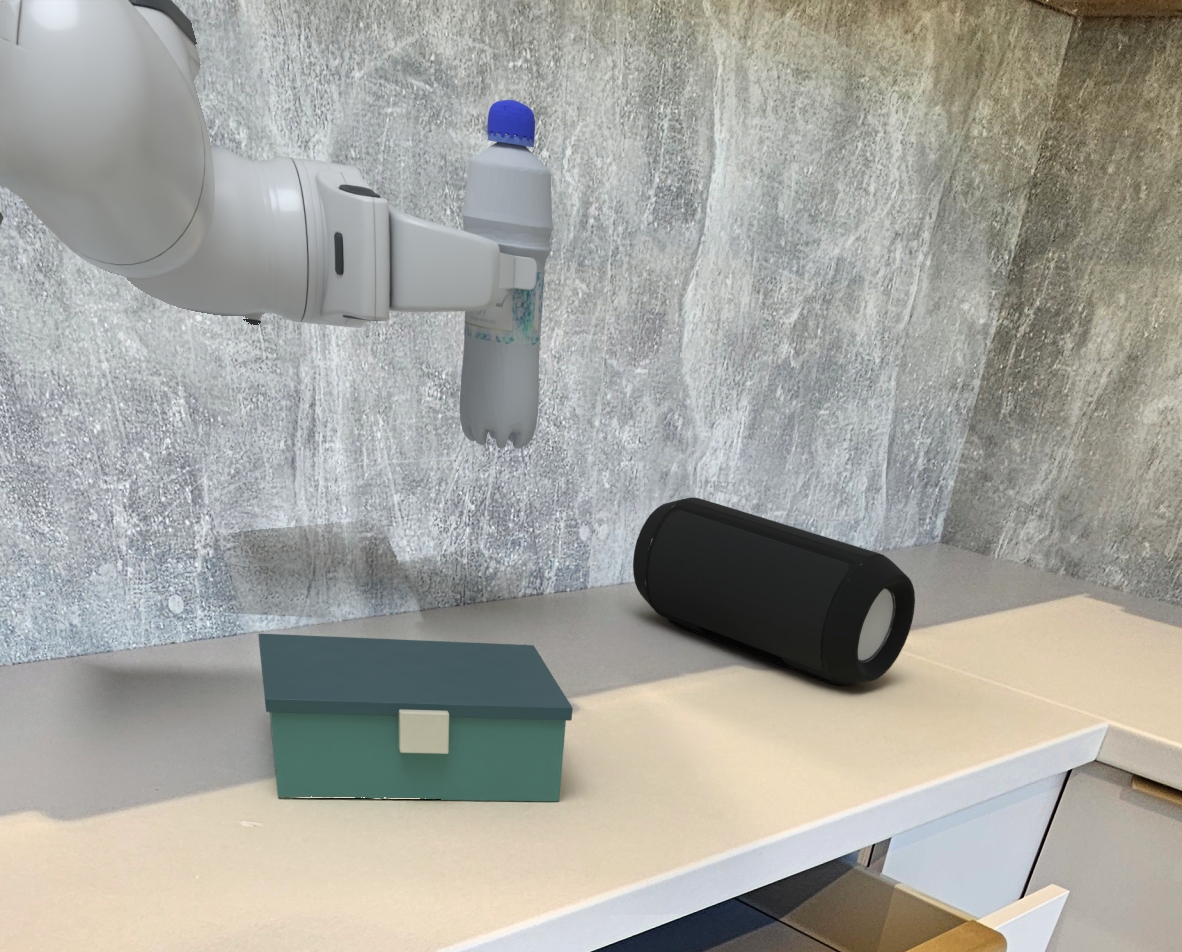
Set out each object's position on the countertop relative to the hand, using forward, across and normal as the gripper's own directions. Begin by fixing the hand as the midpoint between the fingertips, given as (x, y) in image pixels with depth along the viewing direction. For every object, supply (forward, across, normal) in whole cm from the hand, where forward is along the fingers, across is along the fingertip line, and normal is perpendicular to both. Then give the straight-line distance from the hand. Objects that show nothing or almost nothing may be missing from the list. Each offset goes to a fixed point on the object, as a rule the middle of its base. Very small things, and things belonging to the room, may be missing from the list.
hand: (516, 268), depth 89 cm
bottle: (-1, 0, -11) cm, 11 cm away
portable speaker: (+22, +8, -24) cm, 34 cm away
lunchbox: (-17, +31, -24) cm, 43 cm away
